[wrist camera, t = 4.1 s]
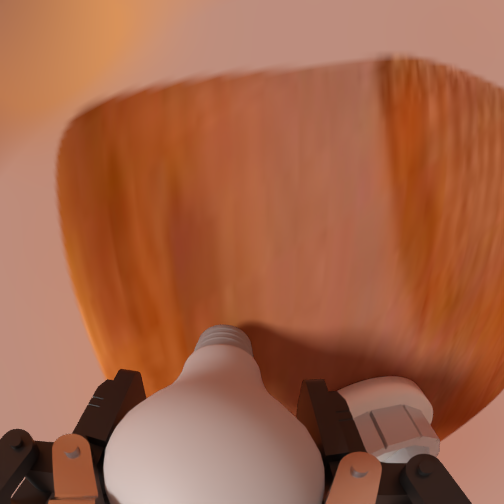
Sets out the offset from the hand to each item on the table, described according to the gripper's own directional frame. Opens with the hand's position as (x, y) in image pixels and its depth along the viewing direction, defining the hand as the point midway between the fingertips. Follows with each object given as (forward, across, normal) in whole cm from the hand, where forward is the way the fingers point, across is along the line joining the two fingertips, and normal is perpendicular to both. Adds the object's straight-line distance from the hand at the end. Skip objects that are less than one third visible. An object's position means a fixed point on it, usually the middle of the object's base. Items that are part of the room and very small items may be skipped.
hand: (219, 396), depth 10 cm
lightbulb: (+4, 0, 0) cm, 4 cm away
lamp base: (+5, -10, +9) cm, 14 cm away
